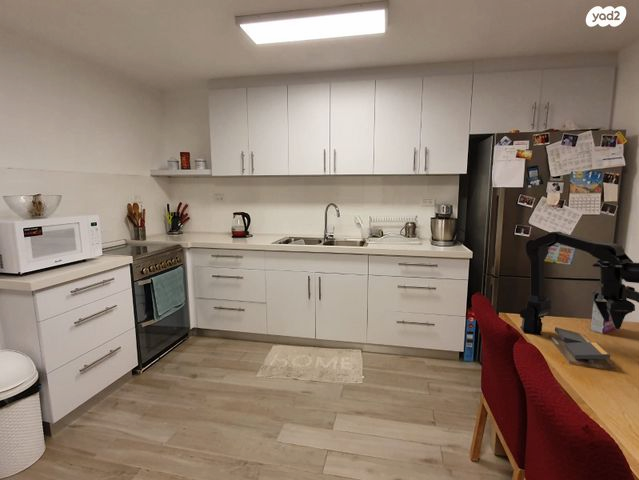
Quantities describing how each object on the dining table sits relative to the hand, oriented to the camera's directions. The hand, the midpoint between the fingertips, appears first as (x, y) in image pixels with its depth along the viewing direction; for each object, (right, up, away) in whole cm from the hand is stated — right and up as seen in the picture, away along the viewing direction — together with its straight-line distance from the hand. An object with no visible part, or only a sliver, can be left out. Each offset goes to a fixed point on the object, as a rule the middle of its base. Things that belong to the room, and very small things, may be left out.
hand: (611, 325), depth 116 cm
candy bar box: (+21, -10, +29) cm, 37 cm away
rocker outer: (-7, -10, +3) cm, 12 cm away
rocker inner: (-3, -8, +13) cm, 16 cm away
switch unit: (-5, -12, +9) cm, 16 cm away
